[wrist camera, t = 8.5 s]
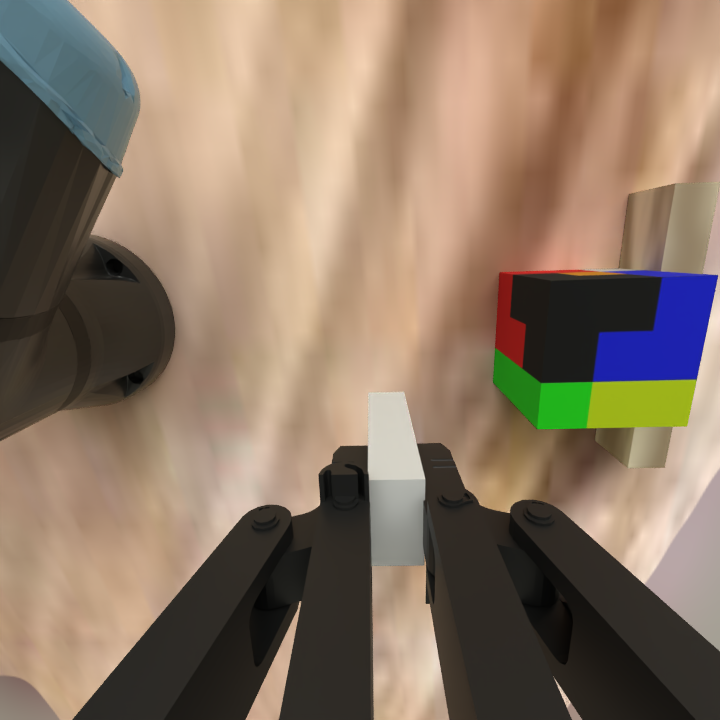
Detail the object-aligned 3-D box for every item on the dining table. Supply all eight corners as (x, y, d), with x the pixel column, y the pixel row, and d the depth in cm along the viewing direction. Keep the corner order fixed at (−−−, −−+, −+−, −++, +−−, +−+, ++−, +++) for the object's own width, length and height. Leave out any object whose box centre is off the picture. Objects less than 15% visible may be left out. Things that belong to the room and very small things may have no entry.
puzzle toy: (617, 268, 33) (718, 275, 24) (602, 379, 36) (687, 426, 26) (499, 272, 34) (551, 280, 24) (492, 382, 36) (536, 429, 27)
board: (594, 440, 38) (627, 468, 33) (629, 194, 32) (675, 183, 27) (626, 439, 37) (664, 467, 33) (666, 192, 32) (720, 181, 27)
